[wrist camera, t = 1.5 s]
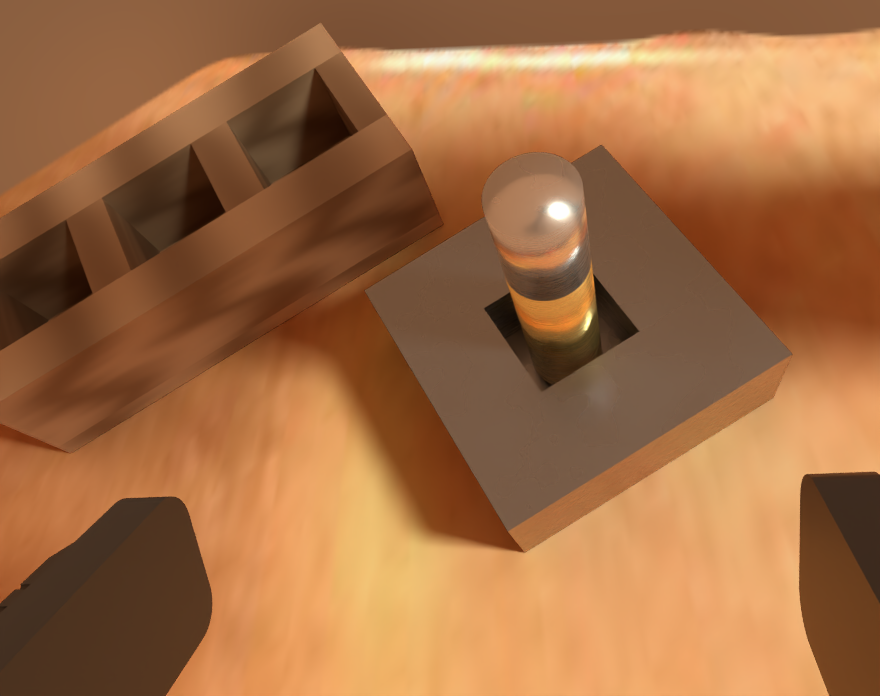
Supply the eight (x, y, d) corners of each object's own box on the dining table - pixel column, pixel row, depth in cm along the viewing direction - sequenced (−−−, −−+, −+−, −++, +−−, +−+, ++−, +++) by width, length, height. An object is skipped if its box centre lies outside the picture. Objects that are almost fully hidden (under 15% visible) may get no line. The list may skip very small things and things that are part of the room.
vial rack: (359, 105, 43) (320, 23, 38) (443, 224, 39) (412, 149, 33) (27, 309, 43) (-60, 254, 38) (70, 453, 38) (-22, 414, 33)
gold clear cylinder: (577, 311, 34) (547, 135, 23) (616, 362, 32) (603, 200, 22) (519, 346, 34) (463, 186, 23) (556, 399, 32) (514, 255, 22)
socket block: (605, 203, 37) (601, 144, 33) (773, 397, 31) (792, 354, 27) (394, 334, 37) (364, 290, 33) (525, 552, 31) (507, 531, 27)
